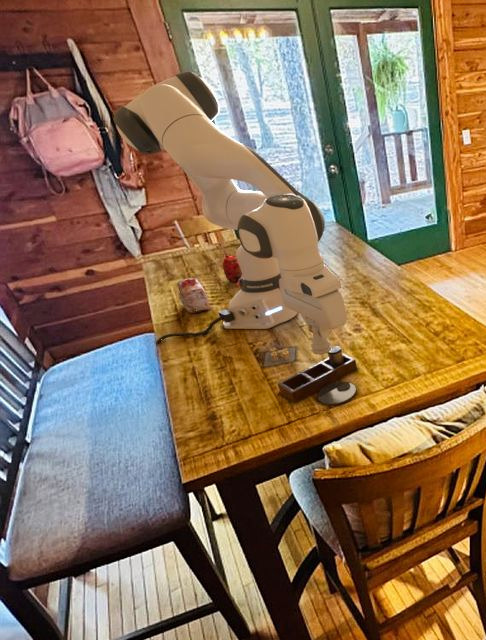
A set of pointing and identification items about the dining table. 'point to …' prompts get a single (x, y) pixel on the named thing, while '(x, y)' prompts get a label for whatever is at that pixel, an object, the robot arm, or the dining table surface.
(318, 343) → the rook chess piece
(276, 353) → the dice set
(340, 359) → the spice tin
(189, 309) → the food item
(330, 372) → the spice rack
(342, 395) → the coaster
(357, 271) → the dining table surface
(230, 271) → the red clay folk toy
